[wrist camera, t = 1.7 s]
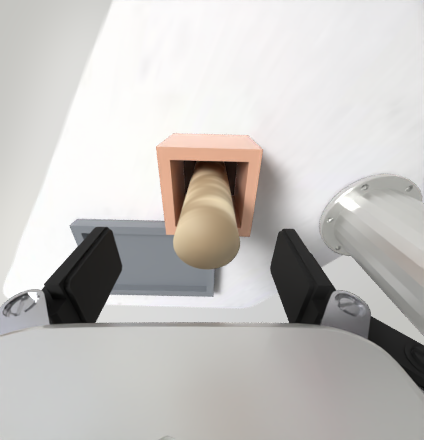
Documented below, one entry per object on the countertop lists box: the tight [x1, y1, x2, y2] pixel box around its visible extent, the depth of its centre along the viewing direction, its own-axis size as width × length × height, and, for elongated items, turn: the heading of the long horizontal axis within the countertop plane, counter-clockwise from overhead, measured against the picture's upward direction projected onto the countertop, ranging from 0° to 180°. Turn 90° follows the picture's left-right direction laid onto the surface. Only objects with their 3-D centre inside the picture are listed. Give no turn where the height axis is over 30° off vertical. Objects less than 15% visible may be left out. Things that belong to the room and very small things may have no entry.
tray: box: [70, 219, 215, 297], centre depth 31 cm, size 20×14×2 cm
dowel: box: [173, 161, 240, 269], centre depth 18 cm, size 4×4×15 cm
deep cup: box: [156, 133, 263, 237], centre depth 21 cm, size 8×8×8 cm
